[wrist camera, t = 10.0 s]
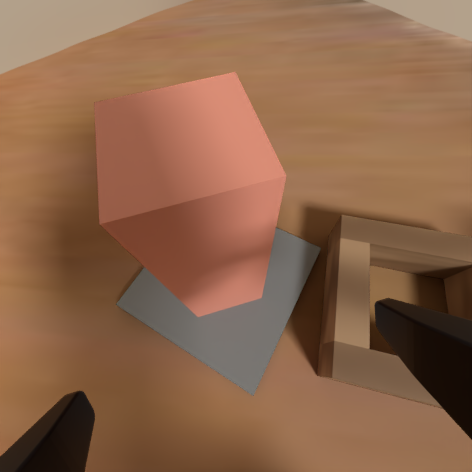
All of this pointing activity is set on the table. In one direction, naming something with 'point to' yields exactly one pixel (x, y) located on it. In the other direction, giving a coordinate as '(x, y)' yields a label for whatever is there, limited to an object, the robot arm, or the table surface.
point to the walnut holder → (358, 297)
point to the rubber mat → (230, 315)
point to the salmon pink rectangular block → (191, 188)
